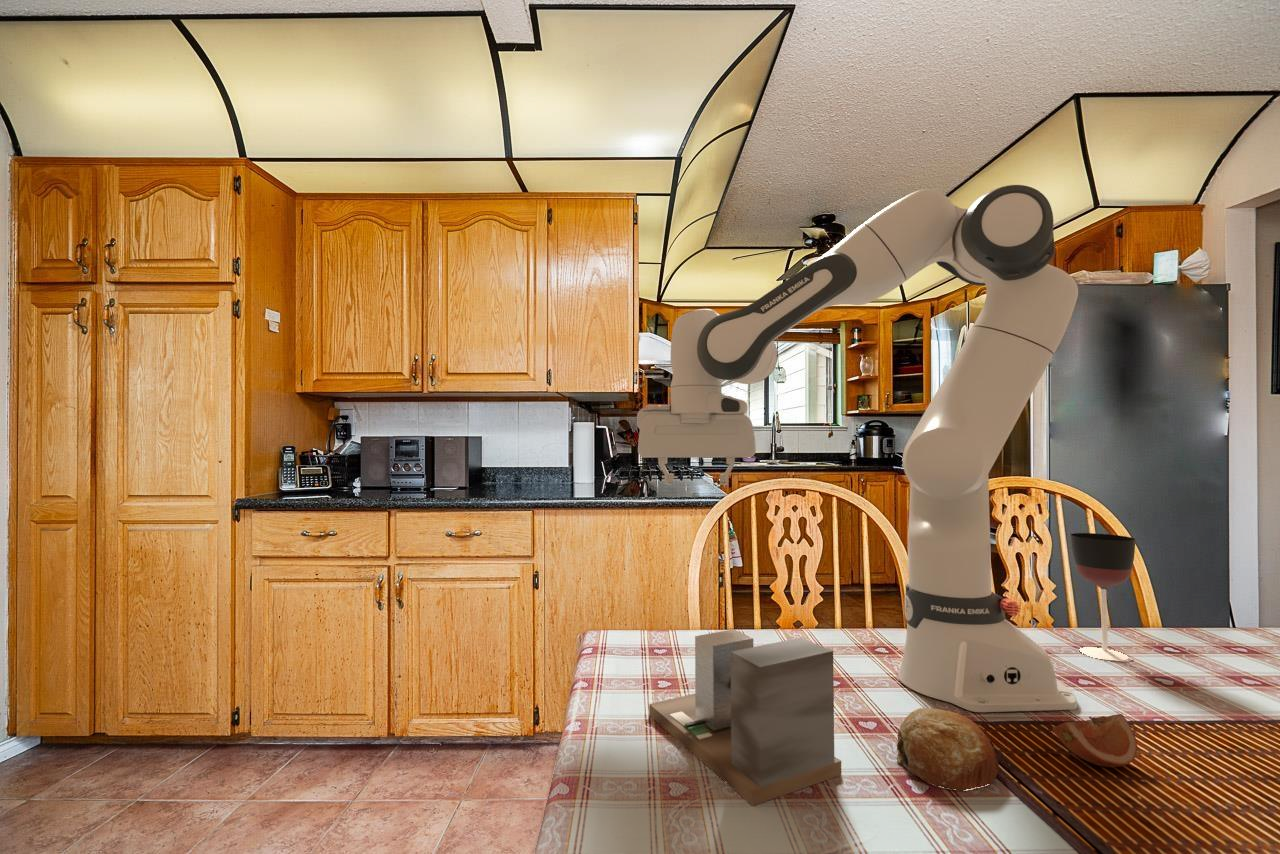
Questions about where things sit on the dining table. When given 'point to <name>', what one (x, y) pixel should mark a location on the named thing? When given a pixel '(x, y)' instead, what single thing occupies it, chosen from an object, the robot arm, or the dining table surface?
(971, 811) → the dining table surface
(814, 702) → the base
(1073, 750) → the fruit slice
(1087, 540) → the wineglass
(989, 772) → the bread roll
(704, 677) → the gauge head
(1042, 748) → the dining table surface
